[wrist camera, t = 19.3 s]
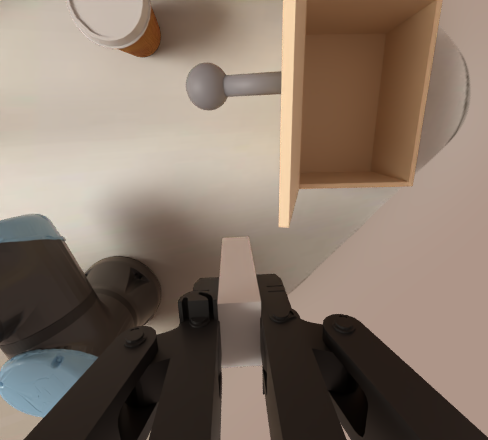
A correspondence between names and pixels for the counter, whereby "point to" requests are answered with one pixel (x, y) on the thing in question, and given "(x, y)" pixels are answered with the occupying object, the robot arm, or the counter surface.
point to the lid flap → (285, 83)
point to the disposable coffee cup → (118, 24)
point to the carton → (365, 90)
